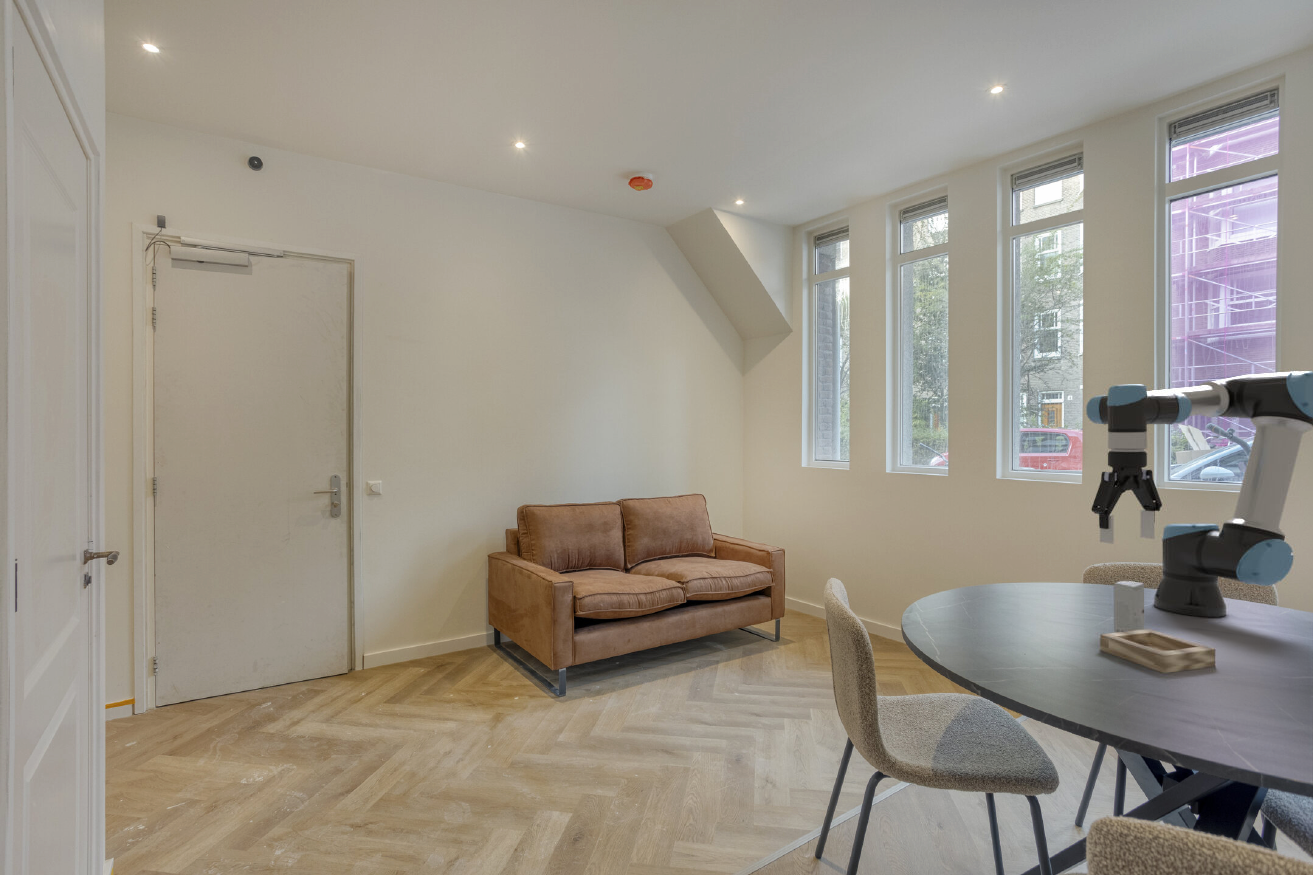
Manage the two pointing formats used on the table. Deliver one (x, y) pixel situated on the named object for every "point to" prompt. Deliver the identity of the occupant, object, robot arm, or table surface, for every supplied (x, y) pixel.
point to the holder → (1157, 650)
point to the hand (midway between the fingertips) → (1127, 540)
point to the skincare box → (1128, 606)
